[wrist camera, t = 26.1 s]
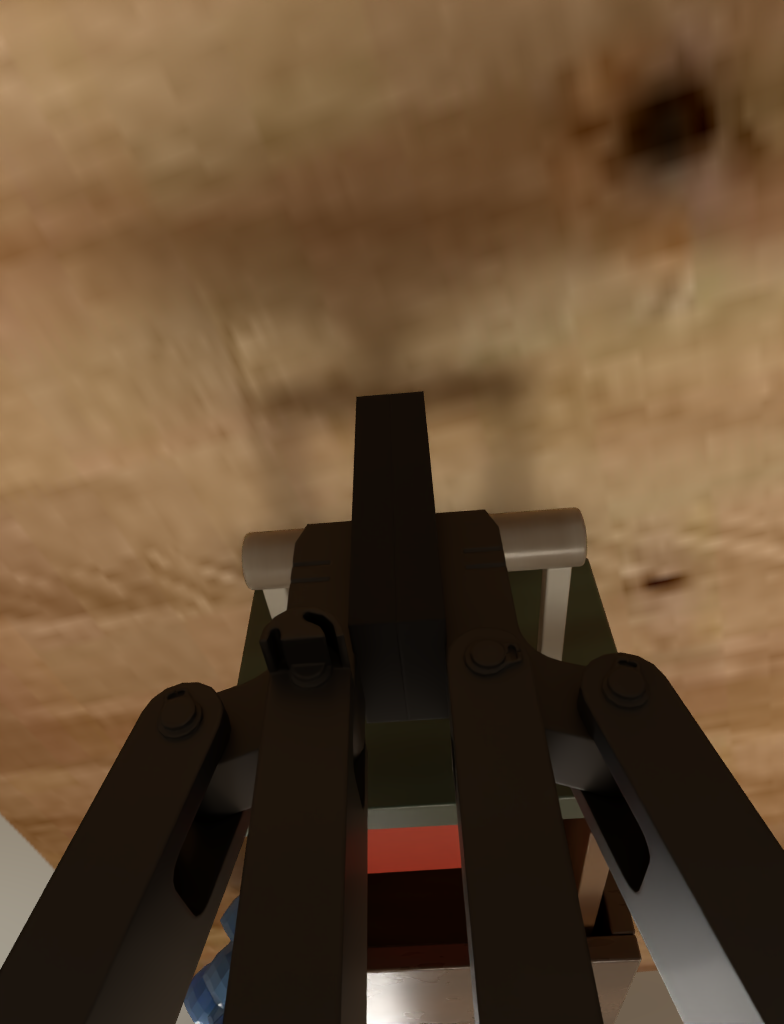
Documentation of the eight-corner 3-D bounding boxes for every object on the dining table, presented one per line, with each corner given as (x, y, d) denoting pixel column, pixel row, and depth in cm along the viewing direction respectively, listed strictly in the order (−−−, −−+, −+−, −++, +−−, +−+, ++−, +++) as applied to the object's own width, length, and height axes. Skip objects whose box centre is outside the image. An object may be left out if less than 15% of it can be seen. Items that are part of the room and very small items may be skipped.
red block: (510, 638, 25) (539, 803, 20) (511, 705, 27) (536, 864, 23) (331, 652, 25) (320, 817, 21) (349, 717, 28) (343, 875, 23)
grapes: (170, 839, 39) (107, 1120, 30) (288, 831, 39) (260, 1114, 30) (228, 916, 47) (191, 1159, 38) (327, 910, 46) (314, 1155, 37)
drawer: (208, 433, 20) (130, 673, 14) (608, 400, 20) (715, 634, 13) (318, 776, 33) (304, 981, 27) (561, 762, 32) (604, 968, 26)
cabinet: (292, 714, 31) (263, 976, 24) (577, 696, 31) (642, 960, 23) (338, 855, 41) (329, 1073, 33) (557, 843, 40) (598, 1064, 33)
